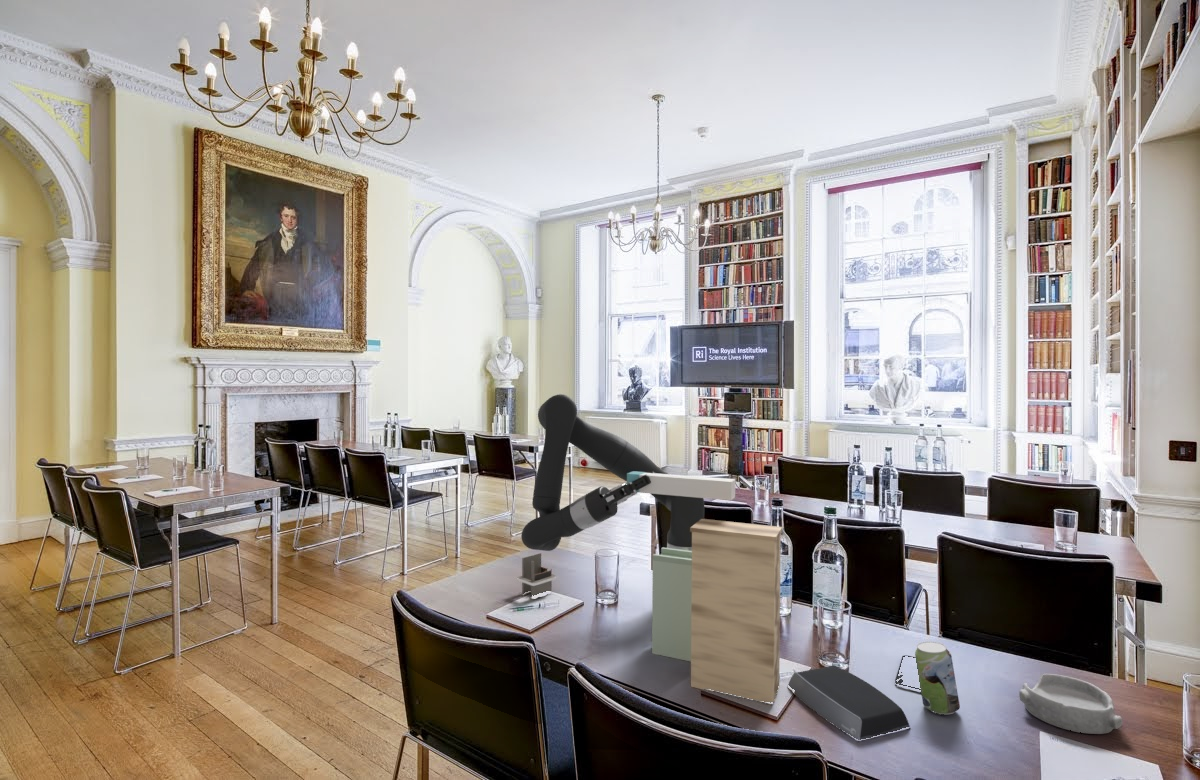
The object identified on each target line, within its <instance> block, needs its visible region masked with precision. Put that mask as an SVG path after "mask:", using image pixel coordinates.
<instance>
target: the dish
mask: <svg viewBox="0 0 1200 780" xmlns="http://www.w3.org/2000/svg"><path fill="white" fill-rule="evenodd" d="M1018 695H1019V696H1018V697H1019V701H1020V702H1022V703H1023V704H1024V707H1025V709H1026V710H1027V711H1028V712H1029V713H1030V714H1031V715H1032V716H1034V717H1035V718H1036V719H1039V720H1040V721H1043V722H1044V723H1047V724H1049V725H1051V726H1055V727H1058V728H1061V729H1063V730H1066V731H1067V730H1068V731H1070V730H1071V732H1076V733H1080V732H1081V733H1082V734H1090V735H1091V734H1092V735H1093V734H1094V735H1104V734H1109V733H1110V732H1112V731H1113V730H1114V729H1115V730H1116V729H1117V730H1118V729H1119V728H1121V727H1122V726H1123V717H1122V716H1120V715H1117V714H1116V710H1115V705H1114V702H1113V699H1112V698H1111V696H1110V694H1109V693H1108V692H1106V691H1104V690H1102V689H1101V688H1100V687H1098V686H1097V685H1095V684H1093V683H1091V682H1088V681H1086V680H1083V679H1079V678H1076V677H1071V676H1067V675H1061V674H1056V673H1055V674H1054V673H1043V674H1042V675H1041V676H1040V677H1039V678H1038V681H1037V683H1036V684H1035V685H1034V686H1033V687H1032V688H1030V687H1029V684H1028V683H1027V682H1023V685H1022V688H1021V689H1019V691H1018ZM1081 733H1080V734H1081Z"/></svg>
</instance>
